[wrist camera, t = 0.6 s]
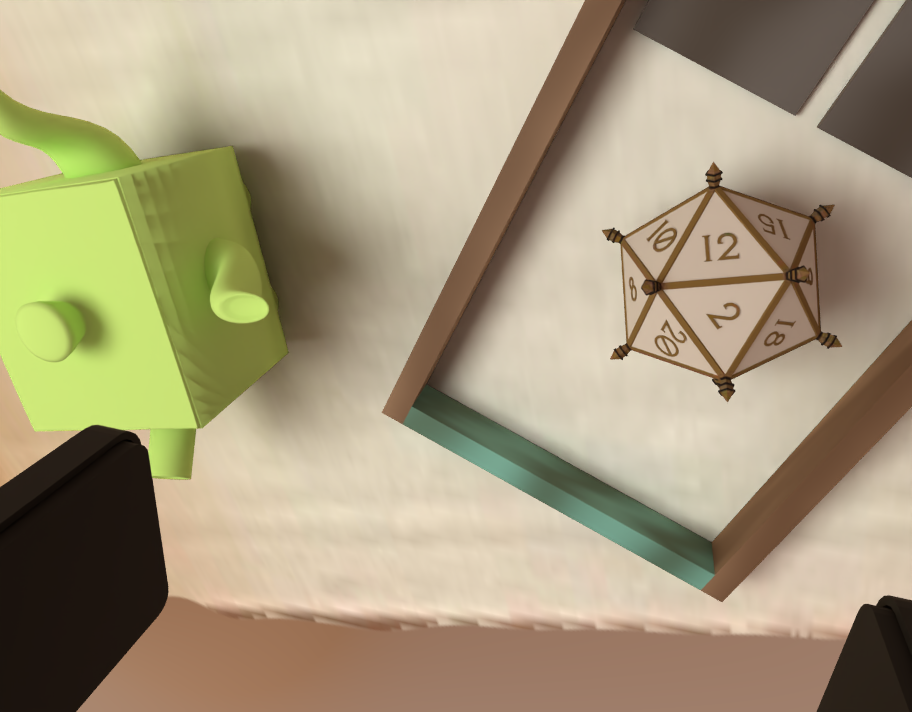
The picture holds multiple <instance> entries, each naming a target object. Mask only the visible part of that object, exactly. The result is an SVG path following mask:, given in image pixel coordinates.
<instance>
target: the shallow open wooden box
mask: <svg viewBox="0 0 912 712" xmlns="http://www.w3.org/2000/svg"><path fill="white" fill-rule="evenodd" d="M625 1H626V0H585V2H584V4H583V6H582V8H581V10H580V12H579V14H578V16H577V18H576V20H575V22H574V24H573V26H572V28H571V30H570V32H569V34H568V36H567V38H566V40H565V42H564V44H563V46H562V48H561V50H560V52H559V54H558V56H557V58H556V60H555V62H554V64H553V66H552V68H551V70H550V73H549V75H548V77H547V79H546V81H545V83H544V85H543V87H542V89H541V91H540V93H539V95H538V97H537V99H536V101H535V103H534V105H533V107H532V109H531V111H530V113H529V115H528V117H527V119H526V121H525V123H524V125H523V127H522V129H521V131H520V133H519V135H518V137H517V139H516V141H515V143H514V146H513V148H512V150H511V152H510V154H509V156H508V158H507V160H506V162H505V164H504V166H503V168H502V170H501V172H500V174H499V176H498V178H497V180H496V182H495V184H494V186H493V188H492V190H491V192H490V194H489V196H488V198H487V200H486V202H485V204H484V206H483V208H482V210H481V212H480V214H479V217H478V219H477V221H476V223H475V225H474V227H473V229H472V231H471V233H470V235H469V237H468V239H467V241H466V243H465V245H464V247H463V249H462V251H461V253H460V255H459V257H458V259H457V261H456V263H455V265H454V267H453V269H452V271H451V273H450V275H449V277H448V279H447V281H446V283H445V285H444V288H443V290H442V292H441V294H440V296H439V298H438V300H437V302H436V304H435V306H434V308H433V310H432V312H431V314H430V316H429V318H428V320H427V322H426V324H425V326H424V328H423V330H422V332H421V334H420V336H419V338H418V340H417V342H416V344H415V346H414V348H413V350H412V352H411V354H410V356H409V359H408V361H407V363H406V365H405V367H404V369H403V371H402V373H401V375H400V377H399V379H398V381H397V383H396V385H395V387H394V389H393V391H392V393H391V395H390V397H389V399H388V401H387V403H386V405H385V407H384V409H383V411H382V413H383V414H385V415H387V416H389V417H391V418H392V419H394V420H396V421H398V422H400V423H401V424H403V425H405V426H407V427H409V428H410V429H412V430H414V431H416V432H418V433H419V434H421V435H423V436H425V437H427V438H428V439H430V440H432V441H434V442H436V443H437V444H439V445H441V446H443V447H444V448H446V449H448V450H450V451H452V452H453V453H455V454H457V455H459V456H461V457H462V458H464V459H466V460H468V461H470V462H471V463H473V464H475V465H477V466H479V467H480V468H482V469H484V470H486V471H488V472H489V473H491V474H493V475H495V476H496V477H498V478H500V479H502V480H504V481H505V482H507V483H509V484H511V485H513V486H514V487H516V488H518V489H520V490H522V491H523V492H525V493H527V494H529V495H531V496H532V497H534V498H536V499H538V500H540V501H541V502H543V503H545V504H547V505H548V506H550V507H552V508H554V509H556V510H557V511H559V512H561V513H563V514H565V515H566V516H568V517H570V518H572V519H574V520H575V521H577V522H579V523H581V524H583V525H584V526H586V527H588V528H590V529H592V530H593V531H595V532H597V533H599V534H600V535H602V536H604V537H606V538H608V539H609V540H611V541H613V542H615V543H617V544H618V545H620V546H622V547H624V548H626V549H627V550H629V551H631V552H633V553H635V554H636V555H638V556H640V557H642V558H644V559H645V560H647V561H649V562H651V563H652V564H654V565H656V566H658V567H660V568H661V569H663V570H665V571H667V572H669V573H670V574H672V575H674V576H676V577H678V578H679V579H681V580H683V581H685V582H687V583H688V584H690V585H692V586H694V587H696V588H697V589H699V590H701V591H703V592H705V593H706V594H708V595H710V596H712V597H713V598H715V599H717V600H719V601H721V602H723V601H724V600H725V599H726V598H727V597H728V596H729V595H730V594H731V592H732V591H733V590H734V589H735V588H736V587H737V586H738V585H739V584H740V583H741V582H742V581H743V580H744V579H745V578H746V577H747V576H748V575H749V574H750V573H751V572H752V571H753V570H754V569H755V568H756V567H757V566H758V565H759V564H760V563H761V562H762V560H763V559H764V558H765V557H766V556H767V555H768V554H769V553H770V552H771V551H772V550H773V549H774V548H775V547H776V546H777V545H778V544H779V543H780V542H781V541H782V540H783V539H784V538H785V537H786V536H787V535H788V534H789V533H790V532H791V531H792V530H793V528H794V527H795V526H796V525H797V524H798V523H799V522H800V521H801V520H802V519H803V518H804V517H805V516H806V515H807V514H808V513H809V512H810V511H811V510H812V509H813V508H814V507H815V506H816V505H817V504H818V503H819V502H820V501H821V500H822V499H823V498H824V497H825V495H826V494H827V493H828V492H829V491H830V490H831V489H832V488H833V487H834V486H835V485H836V484H837V483H838V482H839V481H840V480H841V479H842V478H843V477H844V476H845V475H846V474H847V473H848V472H849V471H850V470H851V469H852V468H853V467H854V466H855V465H856V463H857V462H858V461H859V460H860V459H861V458H862V457H863V456H864V455H865V454H866V453H867V452H868V451H869V450H870V449H871V448H872V447H873V446H874V445H875V444H876V443H877V442H878V441H879V440H880V439H881V438H882V437H883V436H884V435H885V434H886V433H887V431H888V430H889V429H890V428H891V427H892V426H893V425H894V424H895V423H896V422H897V421H898V420H899V419H900V418H901V417H902V416H903V415H904V414H905V413H906V412H907V411H908V410H909V409H910V408H911V407H912V320H911V321H910V323H909V324H908V325H907V326H906V327H905V328H904V329H903V330H902V331H901V333H900V334H899V335H898V336H897V337H896V338H895V339H894V340H893V341H892V343H891V344H890V345H889V346H888V347H887V348H886V349H885V350H884V351H883V353H882V354H881V355H880V356H879V357H878V358H877V359H876V360H875V362H874V363H873V364H872V365H871V366H870V367H869V368H868V369H867V370H866V372H865V373H864V374H863V375H862V376H861V377H860V378H859V379H858V380H857V382H856V383H855V384H854V385H853V386H852V387H851V388H850V389H849V390H848V392H847V393H846V394H845V395H844V396H843V397H842V398H841V399H840V400H839V402H838V403H837V404H836V405H835V406H834V407H833V408H832V409H831V410H830V412H829V413H828V414H827V415H826V416H825V417H824V418H823V419H822V420H821V422H820V423H819V424H818V425H817V426H816V427H815V428H814V429H813V430H812V432H811V433H810V434H809V435H808V436H807V437H806V438H805V439H804V440H803V442H802V443H801V444H800V445H799V446H798V447H797V448H796V449H795V451H794V452H793V453H792V454H791V455H790V456H789V457H788V458H787V459H786V461H785V462H784V463H783V464H782V465H781V466H780V467H779V468H778V469H777V471H776V472H775V473H774V474H773V475H772V476H771V477H770V478H769V479H768V481H767V482H766V483H765V484H764V485H763V486H762V487H761V488H760V489H759V491H758V492H757V493H756V494H755V495H754V496H753V497H752V498H751V499H750V501H749V502H748V503H747V504H746V505H745V506H744V507H743V508H742V509H741V511H740V512H739V513H738V514H737V515H736V516H735V517H734V518H733V519H732V521H731V522H730V523H729V524H728V525H727V526H726V527H725V528H724V529H723V531H722V532H721V533H720V534H719V535H718V536H717V537H716V538H715V540H714V541H713V542H712V543H711V542H709V541H708V540H706V539H704V538H702V537H700V536H699V535H697V534H695V533H693V532H691V531H690V530H688V529H686V528H684V527H682V526H681V525H679V524H677V523H675V522H673V521H672V520H670V519H668V518H666V517H664V516H663V515H661V514H659V513H657V512H655V511H654V510H652V509H650V508H648V507H646V506H645V505H643V504H641V503H639V502H637V501H636V500H634V499H632V498H630V497H628V496H627V495H625V494H623V493H621V492H619V491H618V490H616V489H614V488H612V487H610V486H609V485H607V484H605V483H603V482H601V481H600V480H598V479H596V478H594V477H592V476H591V475H589V474H587V473H585V472H583V471H582V470H580V469H578V468H576V467H574V466H572V465H571V464H569V463H567V462H565V461H563V460H562V459H560V458H558V457H556V456H554V455H553V454H551V453H549V452H547V451H545V450H544V449H542V448H540V447H538V446H536V445H535V444H533V443H531V442H529V441H527V440H526V439H524V438H522V437H520V436H518V435H517V434H515V433H513V432H511V431H509V430H508V429H506V428H504V427H502V426H500V425H499V424H497V423H495V422H493V421H491V420H490V419H488V418H486V417H484V416H482V415H481V414H479V413H477V412H475V411H473V410H472V409H470V408H468V407H466V406H464V405H463V404H461V403H459V402H457V401H455V400H454V399H452V398H450V397H448V396H446V395H445V394H443V393H441V392H439V391H437V390H436V389H434V388H432V387H430V386H428V385H427V382H428V380H429V378H430V376H431V374H432V372H433V370H434V369H435V367H436V365H437V363H438V361H439V359H440V357H441V355H442V353H443V351H444V349H445V347H446V345H447V344H448V342H449V340H450V338H451V336H452V334H453V332H454V330H455V328H456V326H457V324H458V322H459V320H460V319H461V317H462V315H463V313H464V311H465V309H466V307H467V305H468V303H469V301H470V299H471V297H472V295H473V294H474V292H475V290H476V288H477V286H478V284H479V282H480V280H481V278H482V276H483V274H484V272H485V270H486V269H487V267H488V265H489V263H490V261H491V259H492V257H493V255H494V253H495V251H496V249H497V247H498V245H499V244H500V242H501V240H502V238H503V236H504V234H505V232H506V230H507V228H508V226H509V224H510V222H511V220H512V219H513V217H514V215H515V213H516V211H517V209H518V207H519V205H520V203H521V201H522V199H523V197H524V195H525V194H526V192H527V190H528V188H529V186H530V184H531V182H532V180H533V178H534V176H535V174H536V172H537V170H538V169H539V167H540V165H541V163H542V161H543V159H544V157H545V155H546V153H547V151H548V149H549V147H550V145H551V144H552V142H553V140H554V138H555V136H556V134H557V132H558V130H559V128H560V126H561V124H562V122H563V120H564V119H565V117H566V115H567V113H568V111H569V109H570V107H571V105H572V103H573V101H574V99H575V97H576V95H577V94H578V92H579V90H580V88H581V86H582V84H583V82H584V80H585V78H586V76H587V74H588V72H589V70H590V69H591V67H592V65H593V63H594V61H595V59H596V57H597V55H598V53H599V51H600V49H601V47H602V45H603V44H604V42H605V40H606V38H607V36H608V34H609V32H610V30H611V28H612V26H613V24H614V22H615V20H616V19H617V17H618V15H619V13H620V11H621V9H622V7H623V5H624V3H625ZM873 2H874V0H649V1H648V3H647V5H646V6H645V8H644V10H643V12H642V14H641V16H640V18H639V20H638V21H637V23H636V25H635V27H634V30H636V31H637V32H639V33H641V34H643V35H645V36H647V37H649V38H651V39H652V40H654V41H656V42H658V43H660V44H662V45H664V46H666V47H667V48H669V49H671V50H673V51H675V52H677V53H679V54H681V55H682V56H684V57H686V58H688V59H690V60H692V61H694V62H696V63H697V64H699V65H701V66H703V67H705V68H707V69H709V70H711V71H712V72H714V73H716V74H718V75H720V76H722V77H724V78H726V79H727V80H729V81H731V82H733V83H735V84H737V85H739V86H741V87H742V88H744V89H746V90H748V91H750V92H752V93H754V94H756V95H757V96H759V97H761V98H763V99H765V100H767V101H769V102H771V103H772V104H774V105H776V106H778V107H780V108H782V109H784V110H786V111H787V112H789V113H791V114H793V115H795V116H796V114H797V113H798V111H799V110H800V108H801V107H802V105H803V104H804V102H805V101H806V100H807V98H808V97H809V95H810V94H811V92H812V91H813V89H814V88H815V86H816V85H817V83H818V82H819V81H820V79H821V78H822V76H823V75H824V73H825V72H826V70H827V69H828V67H829V66H830V64H831V63H832V62H833V60H834V59H835V57H836V56H837V54H838V53H839V51H840V50H841V48H842V47H843V45H844V44H845V43H846V41H847V40H848V38H849V37H850V35H851V34H852V32H853V31H854V29H855V28H856V26H857V25H858V24H859V22H860V21H861V19H862V18H863V16H864V15H865V13H866V12H867V10H868V9H869V7H870V6H871V5H872V3H873ZM817 128H819V129H821V130H823V131H825V132H827V133H829V134H830V135H832V136H834V137H836V138H838V139H840V140H842V141H844V142H845V143H847V144H849V145H851V146H853V147H855V148H857V149H859V150H860V151H862V152H864V153H866V154H868V155H870V156H872V157H874V158H875V159H877V160H879V161H881V162H883V163H885V164H887V165H889V166H890V167H892V168H894V169H896V170H898V171H900V172H902V173H904V174H905V175H907V176H909V177H911V178H912V0H906V1H905V2H904V4H903V5H902V7H901V8H900V9H899V11H898V12H897V14H896V15H895V17H894V18H893V19H892V21H891V22H890V24H889V25H888V26H887V28H886V29H885V31H884V32H883V34H882V35H881V36H880V38H879V39H878V41H877V42H876V43H875V45H874V46H873V48H872V49H871V51H870V52H869V53H868V55H867V56H866V58H865V59H864V60H863V62H862V63H861V65H860V66H859V68H858V69H857V70H856V72H855V73H854V75H853V76H852V78H851V79H850V80H849V82H848V83H847V85H846V86H845V87H844V89H843V90H842V92H841V93H840V95H839V96H838V97H837V99H836V100H835V102H834V103H833V104H832V106H831V107H830V109H829V110H828V112H827V113H826V114H825V116H824V117H823V119H822V120H821V121H820V123H819V124H818V126H817Z"/></svg>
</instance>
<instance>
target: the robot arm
mask: <svg viewBox="0 0 912 712" xmlns="http://www.w3.org/2000/svg"><path fill="white" fill-rule="evenodd" d="M167 597H168V581H167V574H166V568H165V561H164V554H163V547H162V541H161V534H160V527H159V520H158V513H157V507H156V500H155V493H154V486H153V480H152V473H151V466H150V459H149V454H148V450H147V449H146V447H145V446H143V445H141V442H140V439H139V438H138V436H137V435H136V434H134V433H132V432H129V431H125V430H120V429H115V428H111V427H106V426H102V425H91V426H89V427H87V428H85V429H84V430H82V431H81V432H79V433H78V434H76V435H75V436H73V437H72V438H71V439H69V440H68V441H66V442H65V443H63V444H62V445H61V446H59V447H58V448H56V449H55V450H53V451H52V452H50V453H49V454H48V455H46V456H45V457H43V458H42V459H40V460H39V461H37V462H36V463H35V464H33V465H32V466H30V467H29V468H27V469H26V470H24V471H23V472H22V473H20V474H19V475H17V476H16V477H14V478H13V479H11V480H10V481H9V482H7V483H6V484H4V485H3V486H1V487H0V712H76V711H77V710H78V709H79V708H80V706H81V705H82V704H83V703H84V702H85V701H86V699H87V698H88V697H89V696H90V695H91V694H92V692H93V691H94V690H95V689H96V688H97V686H98V685H99V684H100V683H101V682H102V681H103V679H105V677H106V676H107V675H108V674H109V672H111V670H112V669H113V668H114V667H115V666H116V665H117V663H118V662H119V661H120V660H121V659H122V658H123V656H124V655H125V654H126V653H127V651H129V649H130V648H131V647H132V646H133V645H134V644H135V642H136V641H137V640H138V639H139V638H140V636H141V635H142V634H143V633H144V632H145V630H147V628H148V627H149V626H150V625H151V624H152V623H153V621H154V620H155V619H156V618H157V617H158V616H159V614H160V613H161V611H162V609H163V608H164V606H165V603H166V600H167ZM817 712H912V600H908V599H903V598H898V597H894V596H883V597H882V598H881V599H880V600H879V601H878V603H877V605H876V606H874V605H870V604H864V605H863V606H862V607H861V608H860V609H859V611H858V613H857V616H856V618H855V621H854V623H853V625H852V628H851V630H850V633H849V635H848V637H847V640H846V642H845V645H844V647H843V649H842V652H841V654H840V657H839V659H838V661H837V664H836V666H835V669H834V671H833V674H832V676H831V678H830V681H829V683H828V686H827V688H826V690H825V693H824V695H823V698H822V700H821V702H820V705H819V708H818V710H817Z"/></svg>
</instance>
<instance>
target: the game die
mask: <svg viewBox="0 0 912 712" xmlns="http://www.w3.org/2000/svg"><path fill="white" fill-rule="evenodd" d="M722 173H723V172H722V171H721V170H719V169H718V167H717V166H716V165H715V163H714V162H713V164H712V165H711V167H710V169H709V170H708V171H707V173H706V174H705V176H707V180H706V182H708V184H709V187H707V188H706V189H704V190H702V191H701V192H699V193H697V194H696V195H694V196H692V197H690V198H689V199H687V200H685V201H684V202H682V203H680V204H679V205H677V206H675V207H673V208H672V209H670V210H668V211H667V212H665V213H663V214H661V215H660V216H658V217H656V218H655V219H653V220H651V221H650V222H648V223H646V224H644V225H643V226H641V227H639V228H638V229H636V230H634V231H633V232H631V233H629V234H627V235H626V236H623V235H622V234H621V233H620V231H616V230H614V229H615V228H613V229H608V230H602V232H603V233H604V234H605V236H606V237H607V240H608V241H609V240H611V241H612V242H613V243H614V242H617V243H620V244H621V260H622V276H623V292H624V309H625V325H626V341H627V343H626V344H625V345H623V346H621V345H620V346H619V348H617V349H616V348H615V349H614V352H613V354H612V356H611V358H610V359H621V360H623V357H625V356H628V355H627V354H628V353H629V352H630V351H631V350H633V351H636V352H639V353H642V354H645V355H648V356H651V357H653V358H656V359H659V360H662V361H665V362H668V363H671V364H674V365H677V366H680V367H683V368H686V369H688V370H691V371H694V372H697V373H700V374H703V375H706V376H709V377H712V378H713V379H712V381H713V382H714V384H715V385H717V386H718V387H719V388H720V390H719V391H718V392H719V394H720V395H721V396H723V397H724V398H725V400H726V401H727V402H728V401H729V399H730V397H731V396H732V395H733V394H734V392H735V390H734V389H733V387H734V384H732V382H731V379H733V378H736V377H738V376H740V375H742V374H744V373H746V372H748V371H750V370H752V369H754V368H756V367H759V366H761V365H763V364H765V363H767V362H769V361H771V360H773V359H775V358H777V357H779V356H782V355H784V354H786V353H788V352H790V351H792V350H794V349H796V348H798V347H800V346H802V345H804V344H807V343H809V342H811V341H813V340H815V339H816V340H818V341H819V342H821V345H822V346H823V345H825V346H827V348H828V349H829V348H830V347H842V345H841V344H840V342H839V341H838V339H837V338H836V337H837V336H836V335H834V336H833V335H830V334H831V333H823V332H821V325H820V306H819V287H818V269H817V250H816V231H815V223H816V222H818V221H823V220H824V218H826V217H827V218H828V217H829V216H830V213H831V211H832V209H833V207H834V205H826V206H822V205H819V208H818V209H817V210H816V209H814V212H813V214H812V215H811V216H806V215H803V214H800V213H797V212H794V211H791V210H789V209H786V208H783V207H780V206H777V205H774V204H771V203H768V202H765V201H762V200H759V199H756V198H754V197H751V196H748V195H745V194H742V193H739V192H736V191H733V190H730V189H727V188H724V187H722V186H719V183H720V180H722V178H721V174H722Z"/></svg>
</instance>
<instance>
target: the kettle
mask: <svg viewBox="0 0 912 712" xmlns="http://www.w3.org/2000/svg"><path fill="white" fill-rule="evenodd" d="M0 135H2V136H3V137H5V138H7V139H10V140H12V141H15V142H18V143H21V144H25V145H28V146H32V147H35V148H38V149H40V150H42V151H43V152H45V153H46V154H47V155H49V156H50V157H51V158H52V159H53V160H54V162H55V163H56V164H57V166H58V167H59V168H60V170H61V171H62V174H58V175H54V176H49V177H45V178H41V179H37V180H33V181H29V182H25V183H21V184H17V185H12V186H8V187H4V188H0V355H1V358H2V360H3V362H4V364H5V367H6V369H7V371H8V373H9V376H10V378H11V380H12V382H13V385H14V387H15V389H16V391H17V394H18V396H19V398H20V400H21V403H22V405H23V407H24V409H25V412H26V414H27V416H28V418H29V420H30V422H31V425H32V427H33V429H34V431H80V430H84V429H85V428H87V427H89V426H91V425H102V426H106V427H111V428H115V429H120V430H141V429H151V430H150V441H149V452H148V454H149V459H150V466H151V473H152V478H158V479H178V480H188V479H191V474H192V464H193V454H194V445H195V435H196V429H199V428H203V427H204V426H205V425H207V424H208V423H209V422H210V421H211V420H212V419H213V418H215V417H216V416H217V415H218V414H219V413H220V412H221V411H223V410H224V409H225V408H226V407H227V406H228V405H229V404H231V403H232V402H233V401H234V400H235V399H236V398H237V397H239V396H240V395H241V394H242V393H243V392H244V391H245V390H247V389H248V388H249V387H250V386H251V385H252V384H253V383H255V382H256V381H257V380H258V379H259V378H260V377H261V376H263V375H264V374H265V373H266V372H267V371H268V370H269V369H271V368H272V367H273V366H274V365H275V364H276V363H277V362H279V361H280V360H281V359H282V358H283V357H284V356H285V355H287V354H288V353H289V352H288V348H287V344H286V341H285V337H284V333H283V329H282V326H281V322H280V318H279V315H278V311H277V310H278V307H279V301H278V297H277V294H276V293H275V291H274V290H273V288H272V287H271V285H270V281H269V277H268V274H267V270H266V266H265V262H264V259H263V255H262V251H261V248H260V244H259V240H258V237H257V233H256V229H255V226H254V222H253V218H252V215H251V211H250V208H251V196H250V193H249V191H248V189H247V187H246V186H245V184H244V183H243V181H242V178H241V174H240V170H239V167H238V163H237V160H236V156H235V152H234V149H233V146H228V147H222V148H215V149H208V150H202V151H195V152H189V153H182V154H176V155H170V156H163V157H156V158H150V159H143V160H139V158H138V157H137V156H136V154H135V153H134V152H133V151H132V149H131V148H130V147H129V146H128V145H127V144H126V143H125V142H124V141H123V140H122V139H121V138H120V137H119V136H117V135H115V134H114V133H112V132H111V131H109V130H107V129H106V128H104V127H101V126H99V125H96V124H93V123H91V122H88V121H85V120H81V119H77V118H72V117H67V116H61V115H56V114H51V113H46V112H42V111H39V110H36V109H32V108H29V107H27V106H25V105H23V104H21V103H19V102H17V101H15V100H13V99H12V98H10V97H9V96H8V95H6V94H5V93H4V92H2V91H1V90H0Z"/></svg>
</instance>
